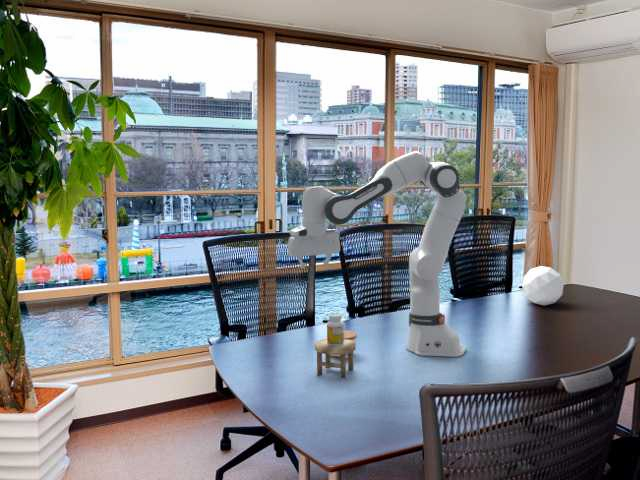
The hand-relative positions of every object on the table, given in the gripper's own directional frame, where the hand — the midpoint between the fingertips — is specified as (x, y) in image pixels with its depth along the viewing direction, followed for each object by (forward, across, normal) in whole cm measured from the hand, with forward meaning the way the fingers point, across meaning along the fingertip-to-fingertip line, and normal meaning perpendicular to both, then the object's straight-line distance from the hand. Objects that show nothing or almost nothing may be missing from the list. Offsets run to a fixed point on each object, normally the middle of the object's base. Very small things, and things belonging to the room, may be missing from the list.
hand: (314, 266), depth 227 cm
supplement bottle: (+23, +3, +23) cm, 33 cm away
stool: (+33, +3, +23) cm, 40 cm away
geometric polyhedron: (+33, -133, -20) cm, 139 cm away
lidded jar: (+33, -9, +6) cm, 35 cm away
